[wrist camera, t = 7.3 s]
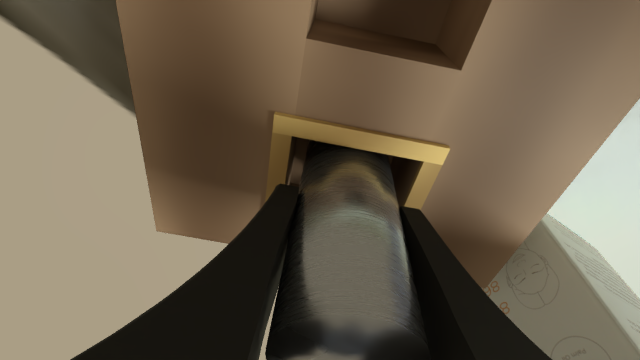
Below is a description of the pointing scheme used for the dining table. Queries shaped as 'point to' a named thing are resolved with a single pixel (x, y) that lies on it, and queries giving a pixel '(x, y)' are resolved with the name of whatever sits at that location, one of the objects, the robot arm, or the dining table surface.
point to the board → (379, 105)
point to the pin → (346, 266)
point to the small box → (568, 297)
